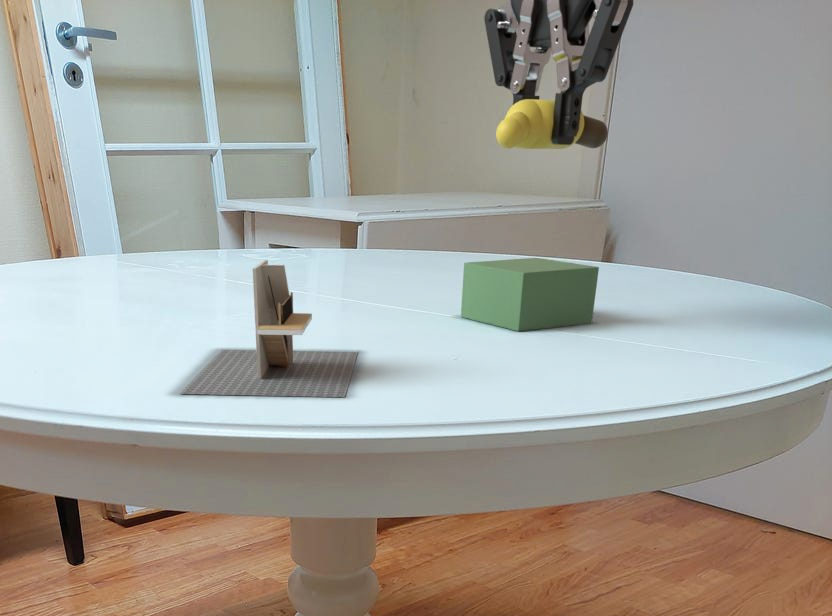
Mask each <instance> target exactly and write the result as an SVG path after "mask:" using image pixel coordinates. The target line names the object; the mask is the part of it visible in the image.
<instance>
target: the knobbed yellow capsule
mask: <svg viewBox="0 0 832 616" xmlns="http://www.w3.org/2000/svg"><path fill="white" fill-rule="evenodd" d="M554 106H555V99H554V100H552V99H539V100H534V99H525V100H521V101H519V102H517V103H515V104H514V105H513V104H512V106H510V108H509V109H508V110H507V112H506V115H505V117H504V119H502V120H501V121H500V123H499V124H498V125H497V127H496V130H495V137H496V140H497V143H498V144H499V145H500V146H501V147H502V148H505V149H512V148H517V149H521V150H561V149H567V148H569V147H572V146H573V145H579V146H581V147H585V148H588V149H597V148H600V147H601V146H602V145H604V143H605V142H606V141H607V138H608V134H609V133H608V132H609V130H608V126H607V124H606V123H604V121H602V120H600V119H597V118H594V117H591V116H587V115H584V113H583V111H582V110H581V115H580V121H579V122H580V124H579V131H578V133H577V136H576V137H574V141H573V143H572V144H571V145H554V144H553V143H552V141H551V137H552V129H553V116H554Z"/></svg>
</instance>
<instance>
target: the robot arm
mask: <svg viewBox="0 0 832 616" xmlns="http://www.w3.org/2000/svg"><path fill="white" fill-rule="evenodd" d="M633 7H634V0H509V1H507V2H506V3H505V4H503V5H502V6H501V7H499V8H489V9H486V11H485V14H484V17H483V20H484V27H485V32H486V36H487V41H488V42H487V43H488V48H489V49H488V50H489V54H490V61H491V65H492V71H493V77H494V82H495V84H496V86H497V87H503V88H505V89H507V90H509V91H510V92H511V94H512V98H513V99H512V106H513V105H514V104H515V103H517V102H519V101H521V100H525V99H534V100H540V97H541V96H540V95H537V93H538V92H539V89H540V84H541V80H542V76H543V72H544V68H545V66H546V65H547V64H548V63H549V61H550V60H551V56H552V59H553V60H554V62H555V64H556V80H557V81H556V82H557V89H558V91H560V92H555V97H554V101H555V106H554V116H553V129H552V137H551V141H552V143H553V144H554V145H571V144H572V143H573V141H574V137H576V136H577V133H578V131H579V124H580V122H579V121H580V115H581V111H582V104H583V96H584V93H585V91H586V90H587V88H589V87H591V86H592V85H594V84H596V83H602V82H603V81H605V79H606V78H607V76H608V73H609V70H610V68H611V65H612V62H613V59H614V57H615V54H616V52H617V49H618V46H619V44H620V41H621V38H622V37H623V33H624V31H625V28H626V25H627V23H628V20H629V17H630V14H631V12H632V9H633ZM592 18H594V21H593V24H592V26H591V30H590V25H589V24H590V22H591V20H592ZM531 48H535V49H534V50H531ZM571 146H572V145H571Z"/></svg>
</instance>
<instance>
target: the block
mask: <svg viewBox="0 0 832 616" xmlns="http://www.w3.org/2000/svg"><path fill="white" fill-rule="evenodd" d="M599 271H600V267H599V266H594V265H587V264H580V263H576V262H575V263H574V262H568V261H561V260H553V259H547V258H541V257H528V258H511V259H497V260H482V261H481V260H480V261H468V262H464V263H463V275H462V290H461V292H462V293H461V308H460V309H461V311H460V317H461V318H464V319H468V320H471V321H476V322H480V323H483V324H488V325H492V326H496V327H500V328H503V329H508V330H511V331H515V332H523V331H524V332H525V331H533V330H542V329H551V328H560V327H568V326H569V327H570V326H577V325H587V324H588V325H589V324H591V323H593V319H594V318H593V317H594V309H595V302H596V294H597V287H598V279H599V278H598V277H599Z"/></svg>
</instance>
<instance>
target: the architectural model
mask: <svg viewBox="0 0 832 616" xmlns="http://www.w3.org/2000/svg"><path fill="white" fill-rule="evenodd" d="M252 285H253V286H252V287H253V307H254V308H253V309H254V324H255V328H254V329H255V347H256V348H255V349H221V350H220V351H219V352H218V353H217V354H216V355H215V356H214V357H213V358H212V359H211V360H210V362H208V364H206V365H205V366H204V368H203V369H202V370H201V371H200V372H199V373H198V374H197V375H196V376H195V377H194V378H193V379H192V380H190V382H189V383H188V384H187V385H186V386H185V388H183V389H182V391H181V392H180V393H179V395H213V396H215V395H216V396H217V395H218V396H221V395H223V396H267V397H268V396H271V397H273V396H274V397H315V398H317V397H318V398H319V397H321V398H323V397H324V398H346V394H347V391H348V387H349V385H350V380H351V377H352V373H353V370H354V366H355V363H356V359H357V356H358V351H325V350H323V351H321V350H318V351H317V350H294V346H293V345H294V339H293V337H294V336H303V335H304V333H305V331H306V329H307V328H308V326H309V325H310V323H311V322H312V319H313V313H309V312H308V313H307V312H305V313H302V312H301V313H300V312H299V313H298V312H297V313H296V312H294V293H293V291H291V292H290V290H289V283H288V278H287V272H286V267H285V264H269V260H268V259H264V260H262V261H261V262H259V263H258V264H256V266H254V267H253V268H252Z"/></svg>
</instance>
